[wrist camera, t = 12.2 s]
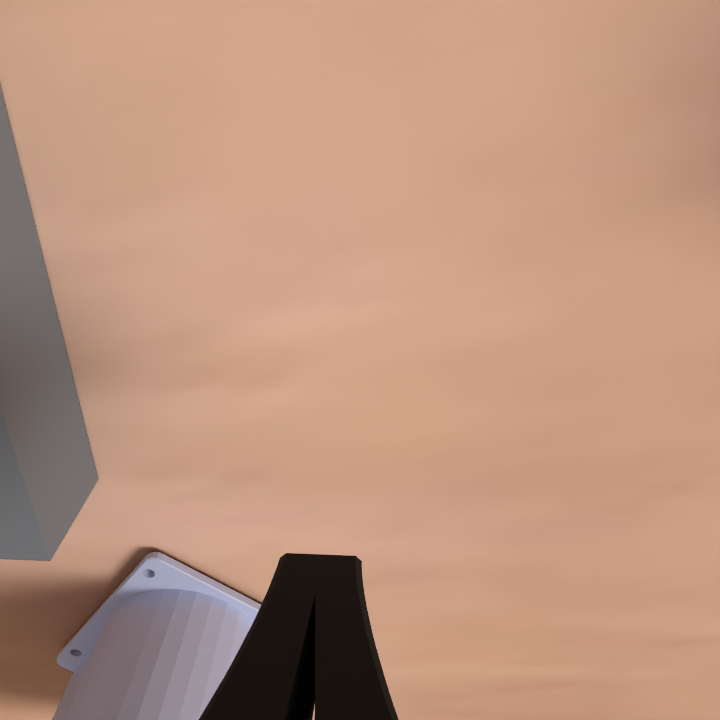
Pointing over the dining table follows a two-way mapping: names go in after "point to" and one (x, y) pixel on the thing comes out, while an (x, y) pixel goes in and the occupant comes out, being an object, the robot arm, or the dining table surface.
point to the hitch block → (34, 386)
